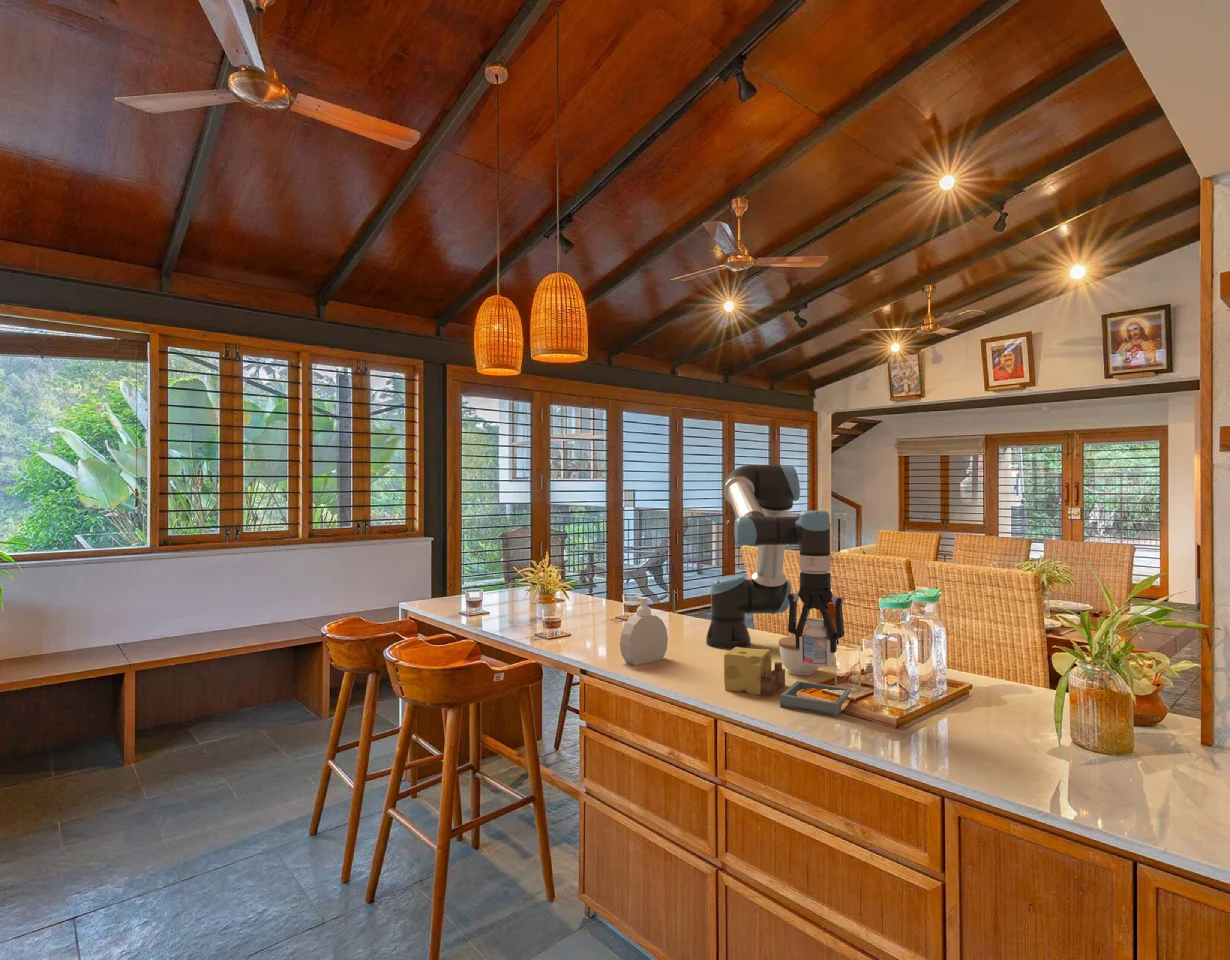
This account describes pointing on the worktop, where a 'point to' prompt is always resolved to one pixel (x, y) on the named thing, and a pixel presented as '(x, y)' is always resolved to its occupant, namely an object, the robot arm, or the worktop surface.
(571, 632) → the worktop surface
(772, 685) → the stop rail
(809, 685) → the tray
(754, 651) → the cheese
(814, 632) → the pill bottle
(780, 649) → the lidded bowl
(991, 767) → the worktop surface
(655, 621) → the soap bottle
